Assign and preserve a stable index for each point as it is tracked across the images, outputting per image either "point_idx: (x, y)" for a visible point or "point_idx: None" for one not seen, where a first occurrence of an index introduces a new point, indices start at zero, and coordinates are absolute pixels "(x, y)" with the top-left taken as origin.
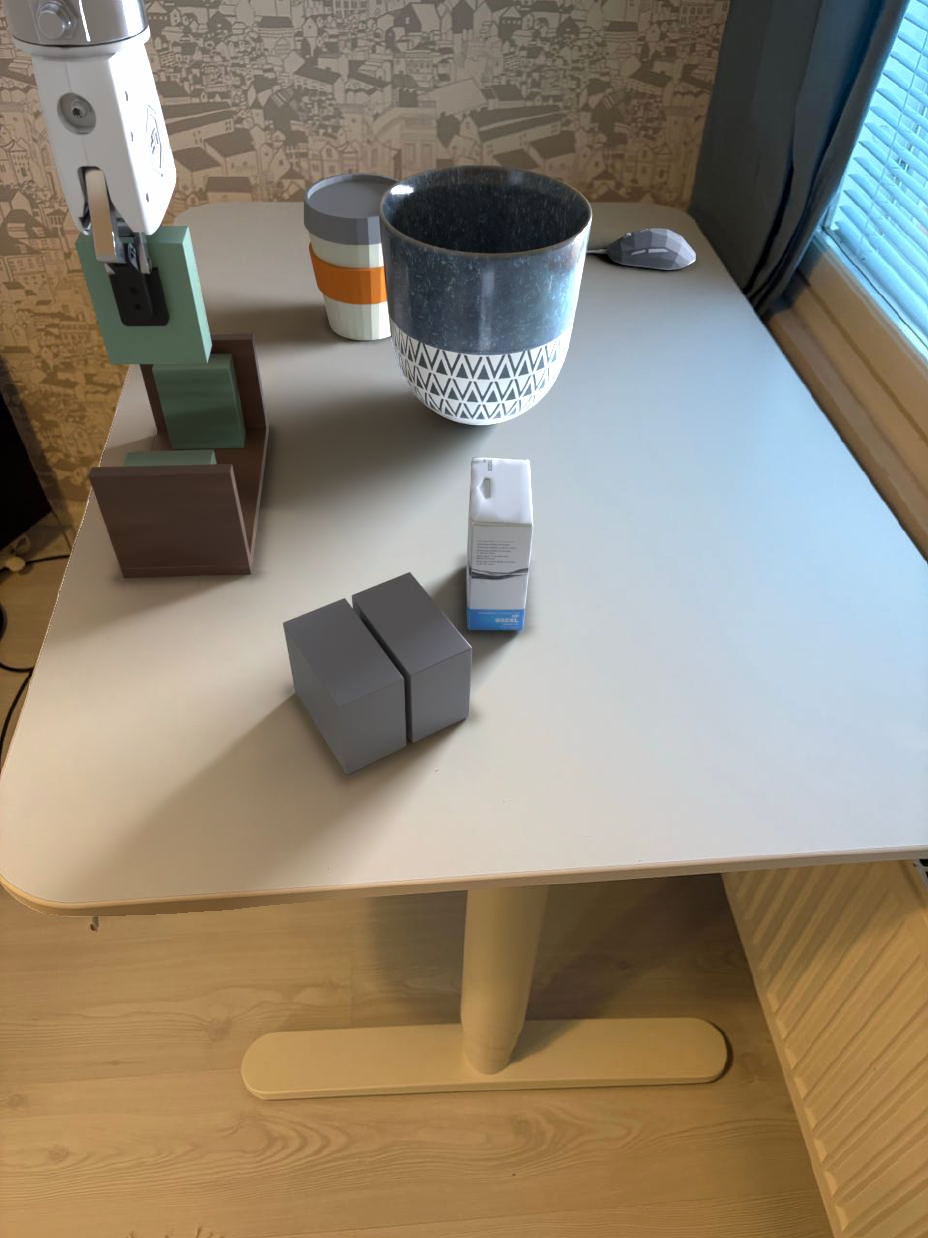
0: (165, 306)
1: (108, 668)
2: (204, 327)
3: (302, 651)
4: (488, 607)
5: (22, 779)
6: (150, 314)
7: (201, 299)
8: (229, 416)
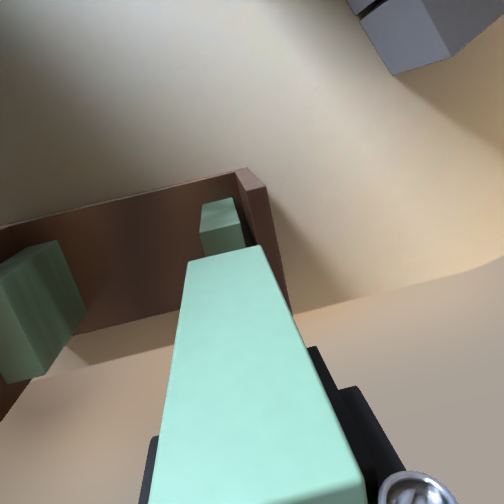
0: (323, 372)
1: (373, 249)
2: (228, 276)
3: (495, 19)
4: None
5: (473, 262)
6: (357, 390)
7: (199, 311)
8: (41, 263)
